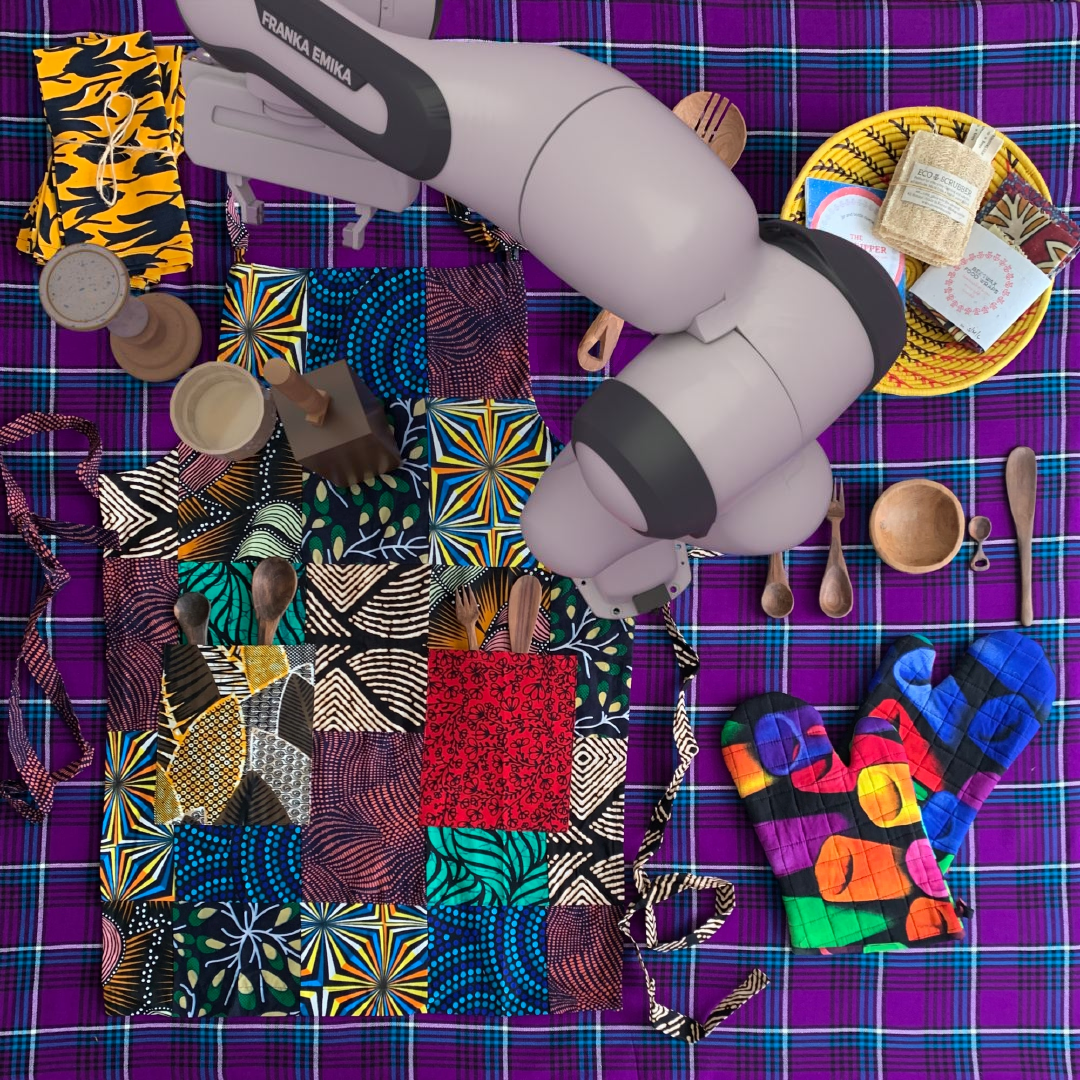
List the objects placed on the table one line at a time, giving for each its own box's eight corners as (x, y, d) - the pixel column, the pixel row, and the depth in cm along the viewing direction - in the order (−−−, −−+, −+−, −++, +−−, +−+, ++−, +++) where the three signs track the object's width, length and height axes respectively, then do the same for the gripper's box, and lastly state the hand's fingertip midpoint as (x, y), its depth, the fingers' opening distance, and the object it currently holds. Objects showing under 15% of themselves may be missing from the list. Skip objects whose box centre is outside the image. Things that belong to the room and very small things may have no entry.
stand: (404, 465, 123) (372, 432, 101) (341, 489, 122) (295, 461, 100) (381, 404, 123) (344, 358, 101) (319, 427, 123) (268, 386, 101)
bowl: (290, 443, 123) (276, 434, 117) (205, 475, 123) (187, 467, 117) (260, 360, 124) (245, 347, 118) (176, 392, 124) (157, 380, 118)
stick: (313, 391, 101) (268, 349, 85) (335, 397, 101) (294, 355, 85) (304, 422, 101) (257, 386, 85) (327, 428, 101) (284, 392, 85)
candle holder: (221, 345, 124) (157, 293, 104) (148, 401, 124) (70, 359, 104) (167, 277, 125) (94, 212, 105) (95, 332, 125) (8, 277, 105)
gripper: (160, 50, 72) (177, 220, 81) (410, 109, 71) (399, 273, 80) (197, 34, 77) (209, 196, 86) (432, 88, 76) (419, 246, 85)
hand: (303, 234), depth 83 cm, fingers open, 8 cm apart
